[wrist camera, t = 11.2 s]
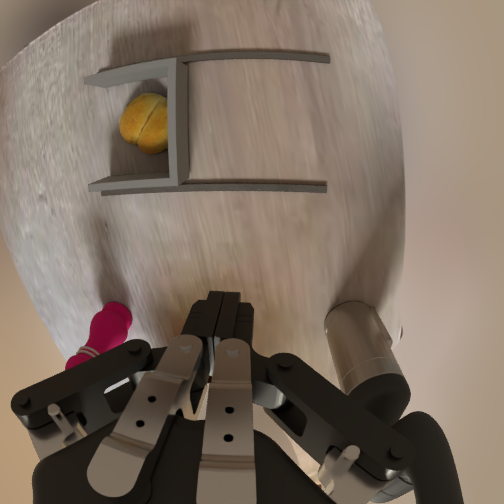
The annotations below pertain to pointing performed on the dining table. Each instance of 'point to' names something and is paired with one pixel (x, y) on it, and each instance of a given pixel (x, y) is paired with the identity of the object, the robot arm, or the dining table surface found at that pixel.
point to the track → (231, 185)
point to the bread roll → (146, 123)
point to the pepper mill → (104, 333)
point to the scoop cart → (176, 122)
